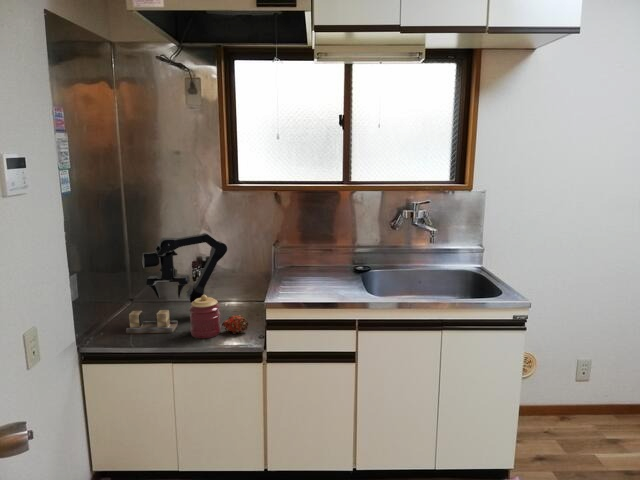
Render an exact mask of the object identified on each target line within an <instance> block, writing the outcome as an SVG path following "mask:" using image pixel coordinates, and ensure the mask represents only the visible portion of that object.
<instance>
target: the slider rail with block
mask: <svg viewBox="0 0 640 480" xmlns="http://www.w3.org/2000/svg"><path fill="white" fill-rule="evenodd" d="M128 319H129V320H128V321H129V327H127V328H126V330H125V332H126V334H128V335H129V334H131V335H132V334H162V333H163V334H170V333H174V331H175V329H176V328H177V327H178V325H179V324H178V323H179V322H178V320H170V325H169V326H168V327H158V326H157V325H156V320H145V321H144V312H143V310H132V311H131V312H130V313H129V314H128Z"/></svg>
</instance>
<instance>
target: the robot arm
mask: <svg viewBox="0 0 640 480" xmlns="http://www.w3.org/2000/svg"><path fill="white" fill-rule="evenodd" d="M203 243H205V244H207V245H208V246H210V251H209V257H208V259H207V261H206V262H205V265H204V267H203V269H202V271H201V272H200V275H199V277H198V278H197V280H196V283H195V284H193V285H191V284H190V285H189V287H188V289H187V291H186V292H185V293H186V299H187V300H188V301H189V303H190V304H191V303H192V302H193V301H194V300H195V299H198V298H201V296H202V295H205V293H204V292H205V287H206V285H207V284H208V282H209V280H210V278H211V276H212V274H213V272H214V270H215V268H216V266H217V264H218V263H219V261H220V260H222V258H223V257H224V255H226V254H227V252H228V246H227V244H225V242H222V241H220V240H216V239H215V238H213V236H211V235H210V234H209V233H205V232H204V233H201V234H194V235H188V236H182V237H161V238H160V239H159V241H158V244H157V246H156V247H155V249H154V250H153V251H152V252H143V253H142V260H141V262H142V267H143V269H148V268H157V267H158V266H159V265H160V270H159V271H160V276H161V277H158V275H149V276H148V277H147V278H146V279H145V285H146V286H148V287H149V288H151V289H152V290H153V292H154V293H155V295H156V297H157V298H158V299H160V298H161V293H160V283H178V284H177V297H178V299H181V295H182V291H183V289H184V287H185V286H186V285H188V284H189V283H190V282H191V278H190V276H189V275H180V276H179V277H178V269H176V267H175V265H174V264H175V262H174V256H178V253H177V252H176V251H175V250H177V249H179V248H182V247H187V246H193V245H199V244H203Z"/></svg>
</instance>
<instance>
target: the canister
mask: <svg viewBox="0 0 640 480" xmlns="http://www.w3.org/2000/svg"><path fill="white" fill-rule="evenodd" d="M218 303H219V302H218V300H217V299H215V298H213V297H211V296H207V295H206V294H203V295H202V296H201V298H198V299H195V300H194V301H193V302H192V303H191V302H190V305H191V306H190V307H189V308H188V309H189V310H188V311H189V312H190V314H189V321H190V322H189V323H190V334H191V336H192V337H194V338H195V339H210V338H215V337H216V336H218V335H219V334H221V330H222V325H221V312H220V309H221V307H220V306H221V305H220V304H218Z"/></svg>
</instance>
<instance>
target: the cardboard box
mask: <svg viewBox="0 0 640 480" xmlns="http://www.w3.org/2000/svg"><path fill="white" fill-rule="evenodd" d="M155 321H156V325H157V326H158V327H168V326H169V325H170V321H171V319H170V309H159V311H157V312H156V314H155Z"/></svg>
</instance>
